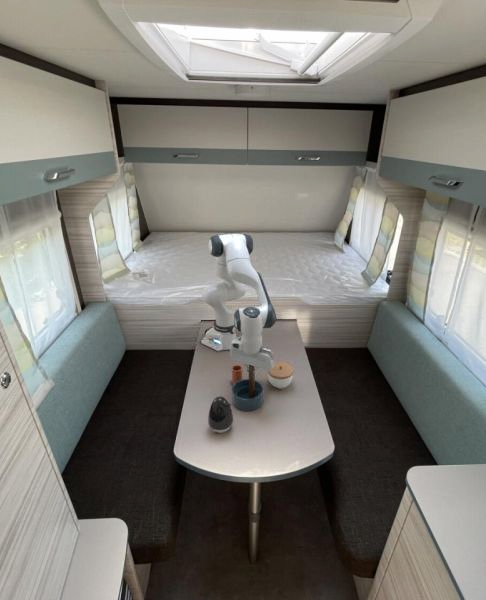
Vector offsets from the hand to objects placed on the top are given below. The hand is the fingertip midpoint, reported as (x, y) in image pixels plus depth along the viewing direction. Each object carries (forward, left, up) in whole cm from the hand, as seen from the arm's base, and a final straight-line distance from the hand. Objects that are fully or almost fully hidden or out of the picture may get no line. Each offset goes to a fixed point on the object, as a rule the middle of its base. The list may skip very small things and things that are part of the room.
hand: (251, 372), depth 143 cm
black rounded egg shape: (-4, -20, -16) cm, 26 cm away
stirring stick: (0, 0, -14) cm, 14 cm away
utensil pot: (-13, +8, -16) cm, 22 cm away
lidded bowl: (+6, +17, -16) cm, 25 cm away
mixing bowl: (-2, -1, -16) cm, 16 cm away
